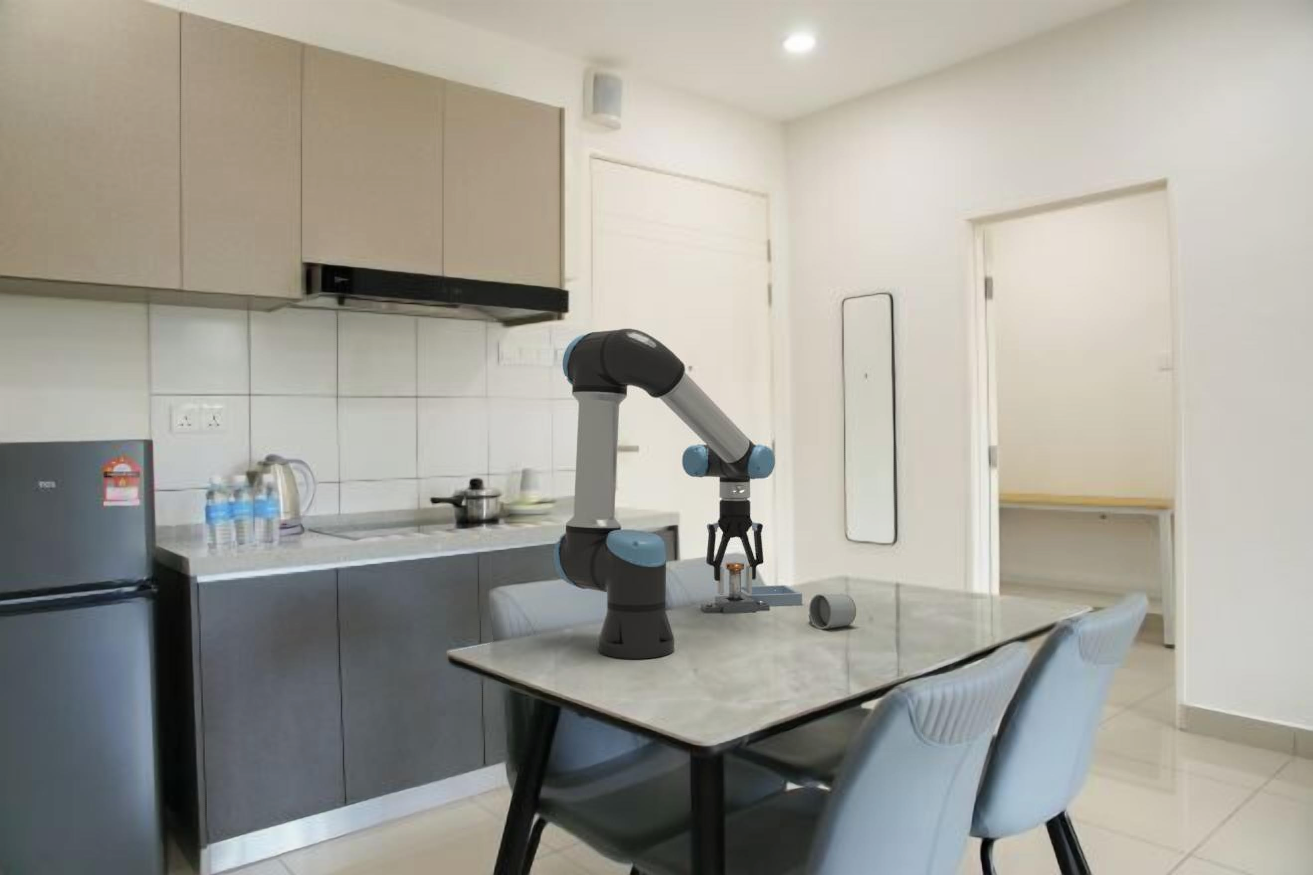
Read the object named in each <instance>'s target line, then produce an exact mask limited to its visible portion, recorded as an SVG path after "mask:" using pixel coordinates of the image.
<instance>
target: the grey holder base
mask: <svg viewBox="0 0 1313 875" xmlns="http://www.w3.org/2000/svg"><path fill="white" fill-rule="evenodd" d="M714 601H715V602H714V603H712V602H706V603H700V610H702V611H703V613H723V614H741V613H742V614H743V613H745V614H747V613H756V612H758V611H759V612H763V611H764V612H765V611H770V607H771V606H770V605H768V604H767V603H765V602H764V601H757V602H755V601H754V600H753V599H751V598H749V597H748V596H746V595H745V596H741V600H734V601H729V595H725V596H724V595H719V596H715V598H714Z"/></svg>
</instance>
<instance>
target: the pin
mask: <svg viewBox="0 0 1313 875" xmlns="http://www.w3.org/2000/svg"><path fill="white" fill-rule="evenodd" d="M725 569H726V570H728V596H729V601H734V600H741V587H742V570H745V563H743V562H727V563H725Z"/></svg>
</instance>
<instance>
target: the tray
mask: <svg viewBox="0 0 1313 875" xmlns="http://www.w3.org/2000/svg"><path fill="white" fill-rule="evenodd" d="M775 590H776V591H775ZM745 595H746V596H748V597H749V598H751V599H753V600H754V601H755V602H757V601H764V602H765V603H767V604H768V605H770V607H779V606H780V607H784V606H786V607H787V606H802V605H803V593H801V592H799V591H797V590H796V589H794V588H792V587H790V586H789V585H785V584H779V585H777V584H776V585H752V594H748V593H747V592H746V585H745V586H741V596H745Z"/></svg>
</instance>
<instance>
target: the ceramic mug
mask: <svg viewBox="0 0 1313 875" xmlns="http://www.w3.org/2000/svg"><path fill="white" fill-rule="evenodd" d="M808 608H809V609H808V610H809V611H808V612H809V613H808V620H809V622H810V623H812V625H813V626H814V627H816V628H817V629H818V630H826V629H827V630H828V629H835V628H842V627H843V628H844V627H846V626H847V627H848V626H849V625H851V624H853V622H854V621H855V619H856V617H857V616H856V615H857V606H856V603H855V601H854V600H853V598H852V597H850V596H849V595H847V594H843V593H817V594H815V595H814V596H813V597H812V598H811V600H810V602H809V607H808Z"/></svg>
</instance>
